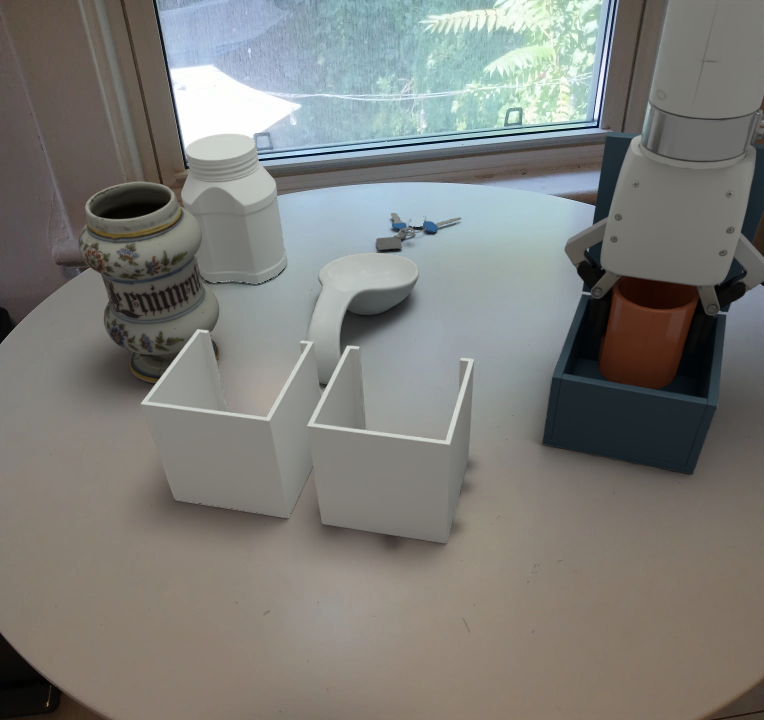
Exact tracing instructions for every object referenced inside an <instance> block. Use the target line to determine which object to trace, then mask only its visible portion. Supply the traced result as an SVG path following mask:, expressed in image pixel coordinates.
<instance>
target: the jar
mask: <svg viewBox="0 0 764 720" xmlns="http://www.w3.org/2000/svg"><path fill="white" fill-rule="evenodd" d="M185 157H186V162H187V163H188V164H187V165H188V168H189V171H188V174H187V177H186V179H185V182H184V184H183V187H182V188H181V191H180V192H181V193H180V196H181V201H182V205H183V208H184V209H186V210H187V211H189V212H190V213H191V214H192V215H193V216H194V217H195V218H196V220H197V221H198V223H199V225H200V227H201V231H202V240H201V244H200V247H199V249H198V251H197V253H196V254H195V257H196V264H197V268H198V272H199V275H200V277H201V278H202V277H203V278H204V279H203V278H202V279H203V280H204V281H206V280H207V281H209V282H219V281H226V280H227V281H229V280H230V281H232V280H233V281H242V282H249V283H259V282H263V281H266V280H268V281H266V282H263V283H260V284H255V285H261V284H264V283H267V282H269V281H270V280H269V279H270V278H272V277H274V276H276V275H277V276H276V277H278V276H279V275H280V274H281V273H282V272H283V271H284V270H285V269H286V267H287V265H286V263H287V264H288V258H287V257H288V256H287V250H286V248H285V242H284V235H283V227H282V222H281V214H280V208H279V200H278V189H277V187H278V186H277V182H276V180H275V178H274V177H273V176H272V175H271V174H270V173H269V172H268V170H266V168H265V167H264V166H263V165H262V164H261V163H260V161H259V160H260V159H259V154H258V147H257V143H256V140H255V139H254V138H252V137H250V136H249V135H245V134H240V133H219V134H218V133H217V134H213V135H207V136H204V137H201V138H197V139H195V140H193V141H192V142H191V143H189V144H188V145H187V146H186V148H185ZM285 266H286V267H285ZM284 268H285V269H284ZM283 269H284V270H283ZM282 270H283V271H282ZM281 271H282V272H281ZM280 272H281V273H280ZM279 273H280V274H279ZM278 274H279V275H278ZM276 277H274V278H272V279H271V280H273V279H275V278H276ZM207 281H206V282H207ZM209 282H208V283H209ZM242 282H237V283H239V284H243V283H242ZM224 283H225V284H226V283H227V282H221V283H220V284H224ZM245 284H246V285H249V284H248V283H245Z"/></svg>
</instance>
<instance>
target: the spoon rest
mask: <svg viewBox="0 0 764 720" xmlns="http://www.w3.org/2000/svg"><path fill="white" fill-rule="evenodd" d="M419 277H420V269H419V267H418V265H417V264H416V263H415V262H414V261H412V260H411V259H409V258H407V257H405V256H401V255H397V254H394V253H383V252H360V253H352V254H346V255H344V256H341V257H338V258H335V259H333V260H331V261H329V262H328V263H326V264H325V265H324V266H322V268H320V270H319V272H318V275H317V280H318V282H319V284H320V286H321V291H320V293H319V296H318V297H317V300H316V303H315V306H314V310H313V312H312V316H311V320H310V323H309V326H308V330H307V334H306V338H305V341H311V342H314V349H315V357H316V364H317V372H318V380H319V384H324V385H328V383H329V381H330V379H331V377H332V375H333V373H334V371H335V369H336V367H337V365H338V363H339V361H340V359H341V357H342V353H341V331H342V325H343V321H344V318H345V315H346V312H347V311H349V312H351V313H353V314H355V315H360V316H373V315H378V314H379V315H380V314H382V313H385V312H387V311H389V310H390V309H391V308H393V307H394V306H397V305H398V304H399V303H401V302H402V301H404V300H405V299H406V298H407V297H408V296H409V295H410V293H411V292H412V291H413V289H414V288H415V286H416V285H417V281H418V280H419Z"/></svg>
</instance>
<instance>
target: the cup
mask: <svg viewBox="0 0 764 720" xmlns="http://www.w3.org/2000/svg"><path fill="white" fill-rule="evenodd" d="M699 299H700V296H699V293H698V290H697V287H696V286H692V285H684V284H677V283H669V282H662V281H655V280H648V279H641V278H634V277H627V276H621V277H620V278H619V280H618V281H617V282H616V283H615V284H614V285H613V287H612V292H611V298H610V302H609V307H608V312H607V317H606V322H605V327H604V332H603V336H602V341H601V346H600V351H599V355H598V368H599V371H600V373H601V374H602V375H603V376H604V377H605V378H606V379H607V380H608V381H610V382H614V383H620V384H626V385H631V386H637V387H643V388H649V389H654V390H655V389H659V388H662V387H665V386H667V385H669V384H670V383H671V382H672V381H673V380H674V379H675V377H676V374H677V371H678V368H679V365H680V362H681V359H682V356H683V352H684V349H685V345H686V342H687V338H688V335H689V332H690V329H691V325H692V322H693V319H694V315H695V312H696V309H697V306H698V303H699Z"/></svg>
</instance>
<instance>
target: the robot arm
mask: <svg viewBox="0 0 764 720" xmlns="http://www.w3.org/2000/svg"><path fill="white" fill-rule="evenodd" d="M665 13H666V14H665V17H664V22H663V28H662V33H661V38H660V41H659V47H658V52H657V57H656V62H655V67H654V72H653V77H652V82H651V87H650V93H649V97H648V100H647V101H648V102H647V107H646V110H645V116H644V121H643V126H642V131H641V134H642V135H639V136H636V137H634V138H633V139H632V141H631V143H630V145H629V148H628V150H627V153H626V155H625V158H624V161H623V164H622V167H621V170H620V174H619V177H618V181H617V184H616V188H615V192H614V196H613V200H612V203H611V207H610V212H609V216H608V217H606V218H605V219H603V220H601V221H599V222H598V223H596V224H594V225H593V224H592V225H591V226H588V227H587V228H585V229H583V230H582V231H580V232H578V233H577V234H575V235H573V236H571V237H569V238H568V239H567V241H566V243H565V246H564V249H563V250H564V253H565V254H566V256H567V258H568V259H569V261H570V262H571V264H572V266H573V267H574V268H575V269H576V274H577V275H578V277H579V278H580V279H581V280H582V281H583V283H585V284H586V285H587V286H588V288H589V289H590V290H591V293H590V295H591V296H592V297H593V303H592V308H591V314H590V319H589V325H595V326H596V327H595V332H594V337H593V339H597V340H599V338H600V339H602V336H603V332H604V327H605V322H606V317H607V312H608V307H609V302H610V298H611V292H612V286H613V285H614V284H615V283H616V282H617V281H618V280H619V278H620V277H621V276H627V277H634V278H641V279H648V280H655V281H662V282H669V283H677V284H684V285H692V286H696V287H697V290H698V293H699V296H700V300H699V303H698V306H697V309H696V312H695V315H694V319H693V322H692V325H691V329H690V332H689V335H688V338H687V342H686V345H685V352H686V354H689V355H693V352H694V349H695V346H696V343H697V342H702V343H704V342H705V340H706V337H707V334H708V331H709V327H710V324H711V321H712V318H713V315H716V314H719V313H720V312H721V311H720V309H721V308H723V307H725V306H727V305H729V304H730V303H731V304H732V303H734V302H736V301H738V300H739V299H741V298H743V297H744V296H745V294H746V293H747V292H749V291H752V290H753V289H755V288H756V287H758V286H759V285H760V284H762V283H764V255H762V253H760V251H759V250H758V249H757V248H756V247H755V246H754V245H753V243H752V244H751V243H750V242H749V241H748V240H747V238H746V237H745V236H744V235H743V234H742V233H741V229H742V225H743V221H744V217H745V213H746V208H747V204H748V200H749V195H750V189H751V184H752V180H753V176H754V169H755V160H756V149H755V148H754V147H753V146H751V145H750V144H755V141H756V140H759V141H761V140H762V139H764V109H761V106H762V103H763V100H764V0H668V3H667V8H666V12H665ZM601 241H603V243H602V249H601V258H600V262H601V266H602V267H603V268H602V269H601V268H600V267H599V265H598V264H597V263H596V262H595V260H594V259H593V258H592V257H590V256H589V254H588V250H589V248H590V247H592V246H594V245H596V244H597V243H599V242H601ZM733 257H734V258H735V259H736V260H737V261H738V262H739V263H740V264H741V265H742V266H743V268H744V269H743V272H742V274H741V275H739V276H736V277H734V278H732V279H730V280H728V281H727V282H725V283H723V284H721V285H720V283H722V282H723V281H724V280H725V278H726V276H727V274H728V271H729V269H730V266H731V263H732V260H733Z"/></svg>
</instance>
